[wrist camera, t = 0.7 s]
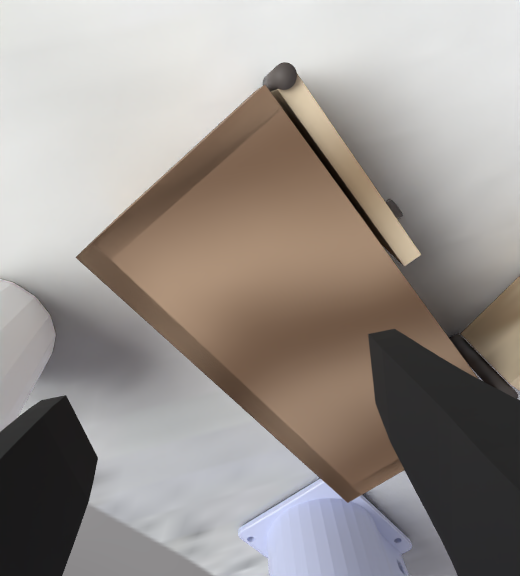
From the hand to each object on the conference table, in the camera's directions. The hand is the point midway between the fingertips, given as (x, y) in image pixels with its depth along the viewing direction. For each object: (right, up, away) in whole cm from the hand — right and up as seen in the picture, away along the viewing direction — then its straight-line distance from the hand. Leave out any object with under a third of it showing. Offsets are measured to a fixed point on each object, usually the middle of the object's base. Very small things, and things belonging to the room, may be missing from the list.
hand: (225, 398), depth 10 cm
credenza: (+3, +3, +10) cm, 11 cm away
